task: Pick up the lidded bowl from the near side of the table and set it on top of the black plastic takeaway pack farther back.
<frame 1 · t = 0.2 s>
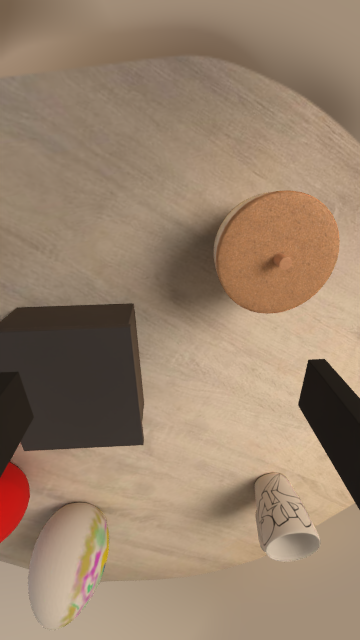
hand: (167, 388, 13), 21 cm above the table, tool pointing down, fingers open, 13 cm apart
mug: (266, 486, 52), on the table
lidded bowl: (253, 241, 31), on the table
decorative egg: (81, 513, 53), on the table
takeaway pack: (87, 360, 37), on the table
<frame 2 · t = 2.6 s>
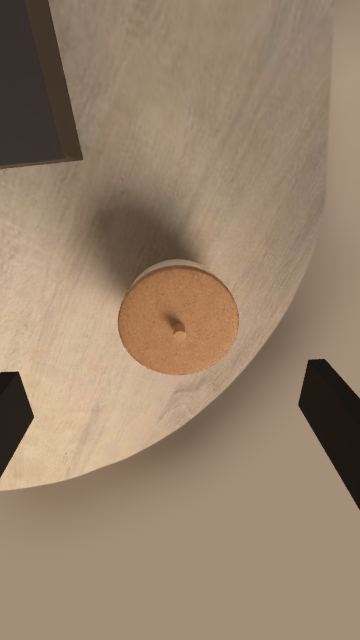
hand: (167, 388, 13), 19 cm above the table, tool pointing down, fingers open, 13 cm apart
lidded bowl: (176, 294, 32), on the table
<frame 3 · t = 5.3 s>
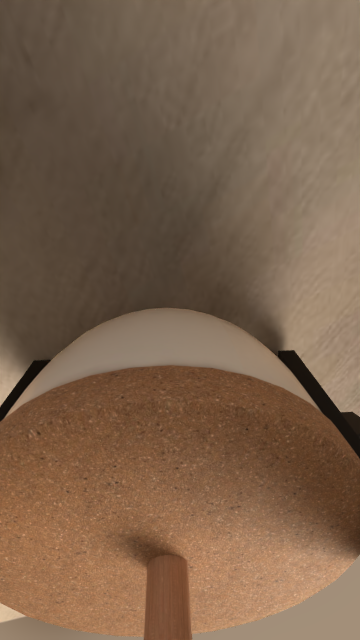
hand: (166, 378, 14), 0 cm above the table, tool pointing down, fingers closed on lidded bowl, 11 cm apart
lidded bowl: (167, 370, 14), on the table, touching gripper
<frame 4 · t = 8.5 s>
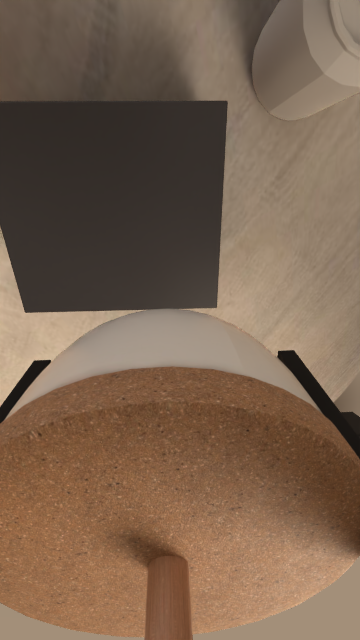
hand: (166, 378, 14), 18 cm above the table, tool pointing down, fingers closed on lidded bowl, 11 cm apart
lidded bowl: (167, 370, 14), point 18 cm above the table, touching gripper
can: (293, 68, 23), on the table
takeaway pack: (124, 212, 27), on the table
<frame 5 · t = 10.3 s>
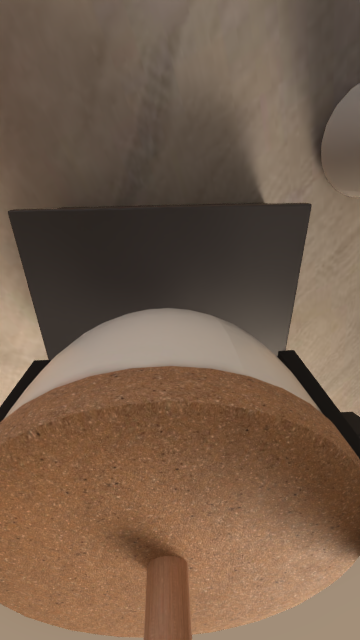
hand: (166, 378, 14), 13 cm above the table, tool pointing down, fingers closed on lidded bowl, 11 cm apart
lidded bowl: (167, 370, 14), point 12 cm above the table, touching gripper
takeaway pack: (167, 289, 25), on the table
when the fingers open (7 cm above the table, at t = 12.1 s): lidded bowl stays where it is, resting on takeaway pack.
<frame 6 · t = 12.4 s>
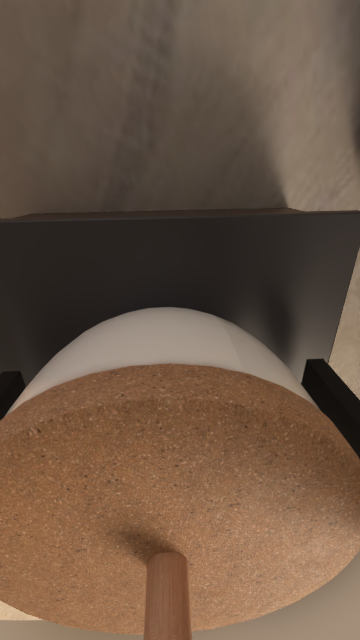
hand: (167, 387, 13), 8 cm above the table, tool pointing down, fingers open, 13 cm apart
lidded bowl: (166, 369, 14), point 7 cm above the table, touching takeaway pack
takeaway pack: (166, 312, 20), on the table
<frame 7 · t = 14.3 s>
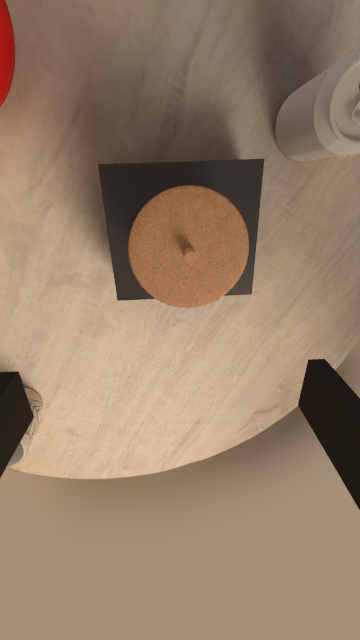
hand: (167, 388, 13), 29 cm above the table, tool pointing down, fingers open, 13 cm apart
mug: (17, 397, 50), on the table
lidded bowl: (183, 236, 32), point 7 cm above the table, touching takeaway pack
can: (302, 126, 33), on the table
takeaway pack: (180, 227, 38), on the table
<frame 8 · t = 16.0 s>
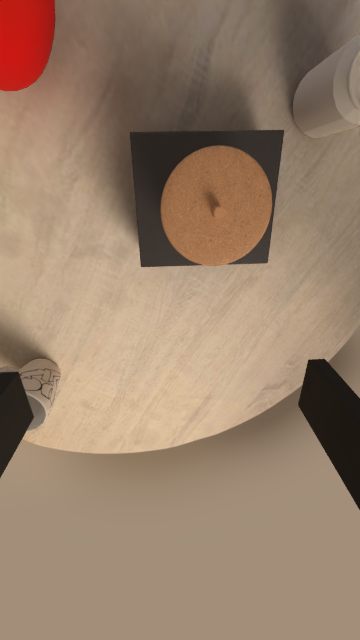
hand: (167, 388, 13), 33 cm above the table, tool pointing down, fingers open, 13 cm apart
mug: (36, 368, 51), on the table
lidded bowl: (206, 204, 34), point 7 cm above the table, touching takeaway pack
can: (318, 104, 35), on the table
tomato: (14, 30, 31), on the table
takeaway pack: (199, 201, 40), on the table
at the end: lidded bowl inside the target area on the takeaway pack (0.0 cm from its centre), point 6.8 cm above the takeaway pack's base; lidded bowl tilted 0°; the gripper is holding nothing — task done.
